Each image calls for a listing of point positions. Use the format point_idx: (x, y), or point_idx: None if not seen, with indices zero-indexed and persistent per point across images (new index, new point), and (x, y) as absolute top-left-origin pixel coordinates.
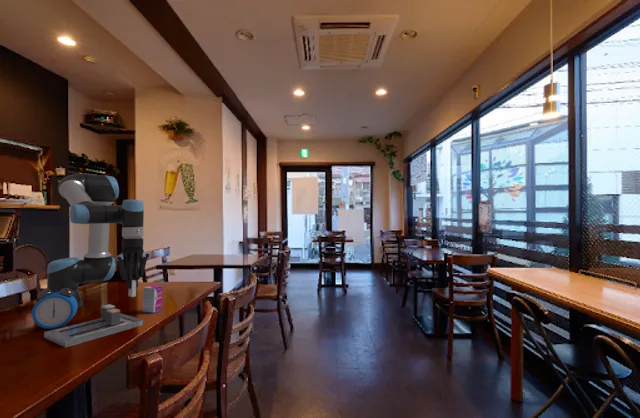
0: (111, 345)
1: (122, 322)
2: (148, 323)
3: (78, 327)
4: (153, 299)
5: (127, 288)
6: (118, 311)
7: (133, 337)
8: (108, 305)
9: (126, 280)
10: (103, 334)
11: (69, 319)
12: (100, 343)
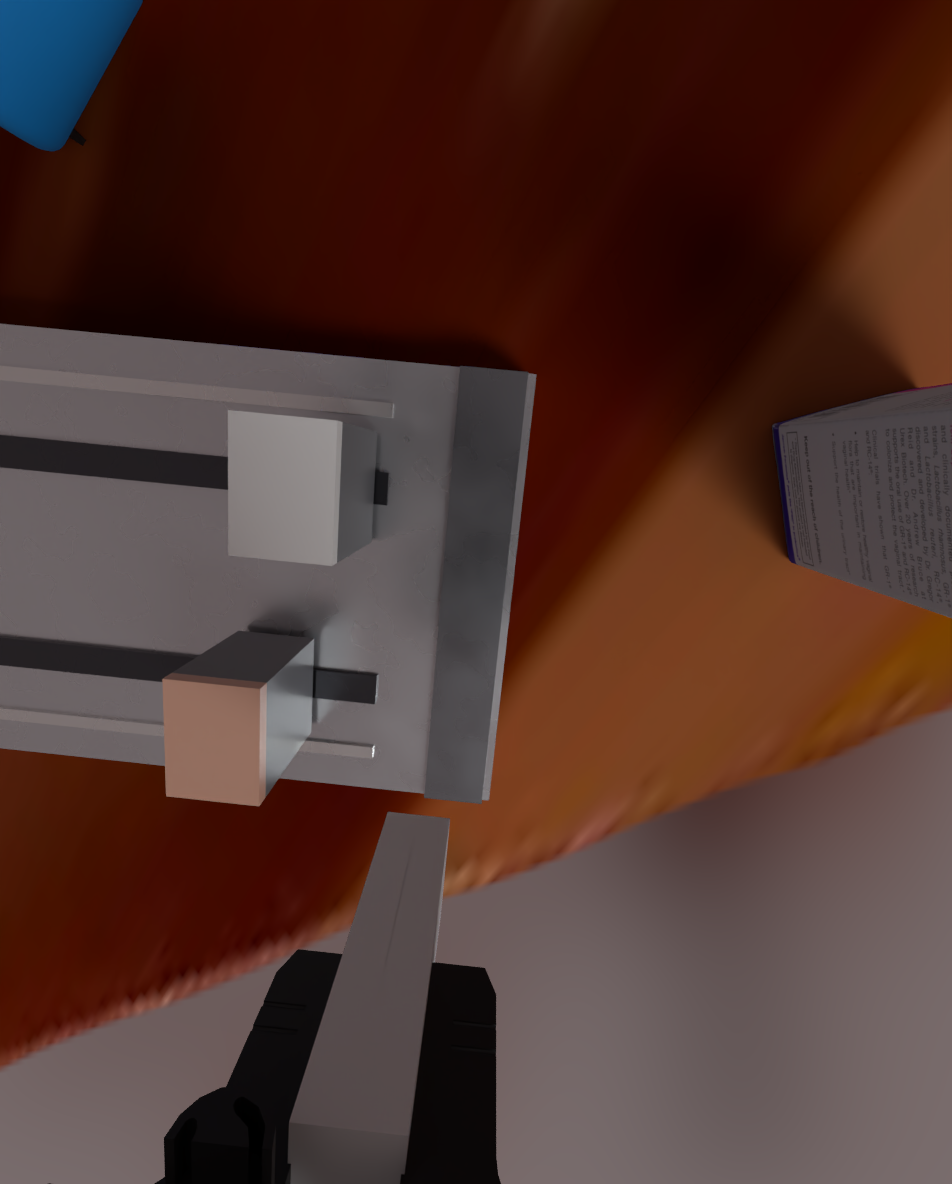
0: (131, 935)
1: (356, 701)
2: (541, 779)
3: (61, 471)
4: (897, 593)
5: (294, 970)
6: (247, 795)
7: (285, 937)
8: (296, 467)
9: (181, 1173)
10: None
11: (47, 150)
12: (105, 846)
